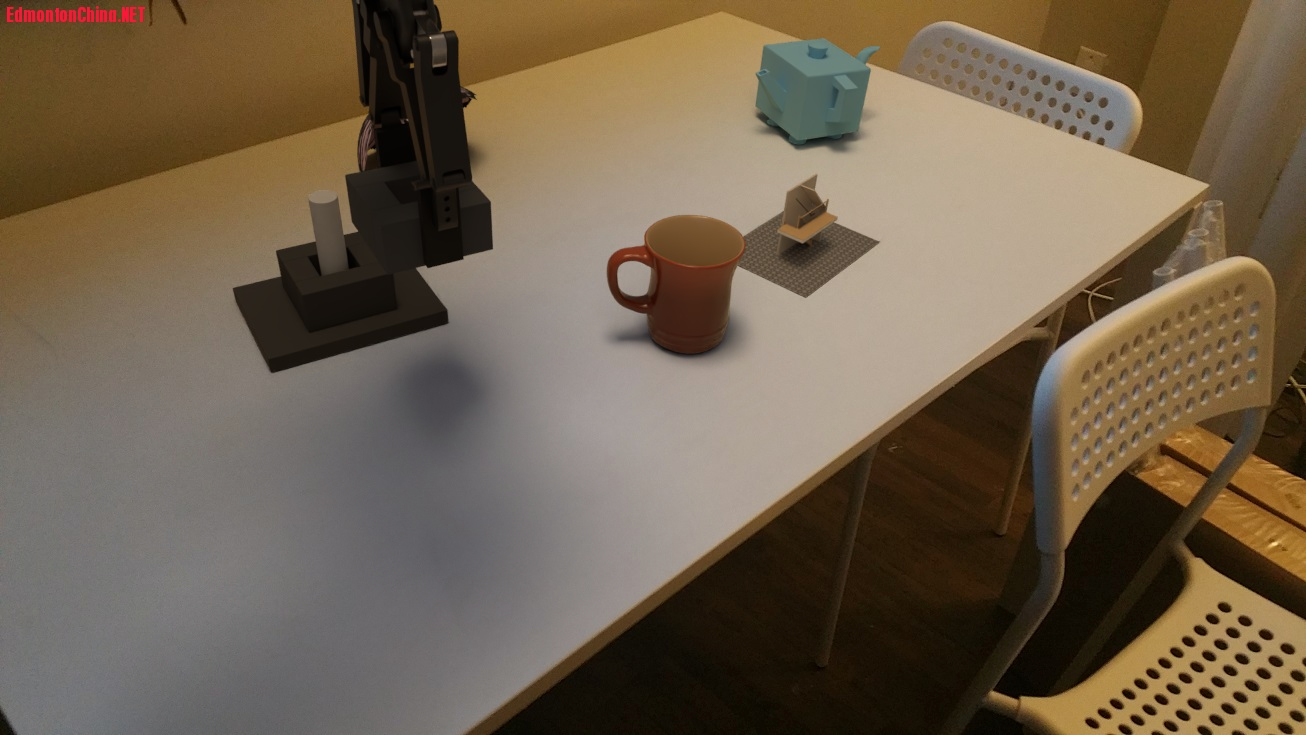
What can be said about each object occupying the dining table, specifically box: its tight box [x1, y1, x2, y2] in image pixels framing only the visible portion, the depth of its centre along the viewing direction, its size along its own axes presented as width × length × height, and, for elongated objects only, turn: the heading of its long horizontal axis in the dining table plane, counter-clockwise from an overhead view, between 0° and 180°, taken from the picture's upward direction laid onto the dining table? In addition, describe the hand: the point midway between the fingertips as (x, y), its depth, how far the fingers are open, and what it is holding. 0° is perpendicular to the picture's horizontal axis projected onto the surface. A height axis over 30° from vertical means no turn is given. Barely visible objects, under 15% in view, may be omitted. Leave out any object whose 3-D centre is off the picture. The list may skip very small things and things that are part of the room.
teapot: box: [754, 37, 881, 145], centre depth 125 cm, size 16×18×11 cm
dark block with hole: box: [275, 231, 397, 333], centre depth 89 cm, size 8×8×4 cm
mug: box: [606, 214, 746, 355], centre depth 88 cm, size 12×9×10 cm
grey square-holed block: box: [344, 161, 494, 275], centre depth 72 cm, size 8×8×4 cm
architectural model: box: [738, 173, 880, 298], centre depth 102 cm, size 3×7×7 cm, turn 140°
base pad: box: [232, 189, 449, 373], centre depth 87 cm, size 16×12×12 cm
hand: (422, 232), depth 73 cm, fingers closed on grey square-holed block, 8 cm apart
